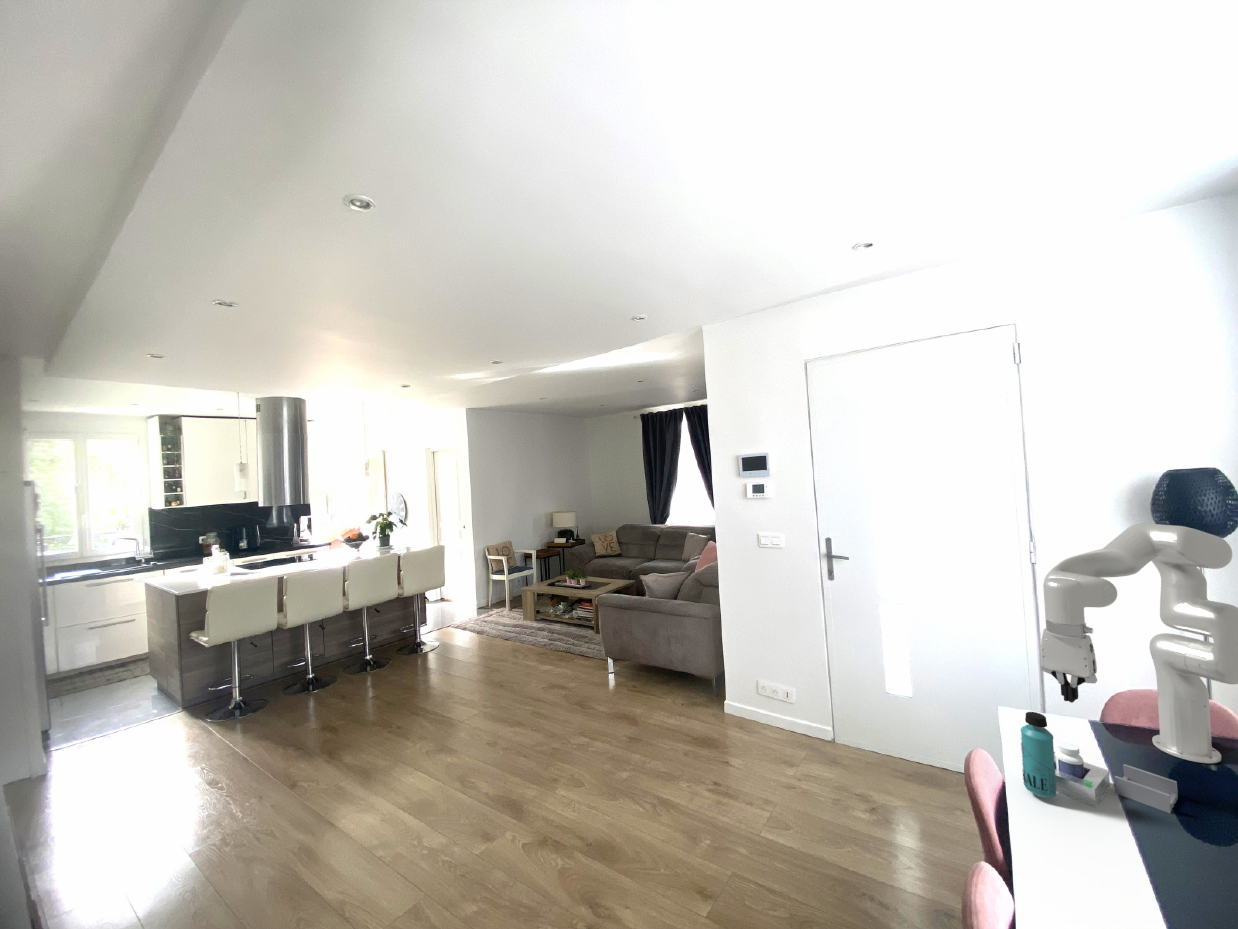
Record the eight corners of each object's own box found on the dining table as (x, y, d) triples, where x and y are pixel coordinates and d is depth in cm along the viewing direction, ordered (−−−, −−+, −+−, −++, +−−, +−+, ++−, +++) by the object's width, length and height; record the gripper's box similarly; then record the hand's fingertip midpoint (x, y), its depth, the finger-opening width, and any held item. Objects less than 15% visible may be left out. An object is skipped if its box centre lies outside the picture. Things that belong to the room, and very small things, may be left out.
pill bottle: (1090, 792, 124) (1088, 752, 124) (1065, 790, 125) (1063, 751, 125) (1074, 778, 129) (1072, 740, 129) (1051, 777, 130) (1049, 739, 130)
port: (1049, 764, 135) (1048, 747, 135) (1110, 786, 125) (1108, 768, 125) (1032, 782, 129) (1031, 764, 129) (1095, 806, 119) (1094, 787, 119)
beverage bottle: (1052, 790, 125) (1047, 710, 125) (1062, 807, 119) (1057, 723, 119) (1019, 785, 128) (1015, 706, 128) (1028, 801, 122) (1023, 718, 122)
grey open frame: (1124, 779, 128) (1123, 764, 128) (1177, 798, 120) (1176, 781, 120) (1115, 793, 123) (1114, 777, 123) (1170, 813, 115) (1168, 796, 115)
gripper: (1109, 631, 123) (1114, 706, 123) (1034, 618, 136) (1038, 686, 136) (1100, 639, 119) (1105, 716, 119) (1023, 624, 132) (1028, 694, 132)
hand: (1070, 700), depth 127 cm, fingers closed
